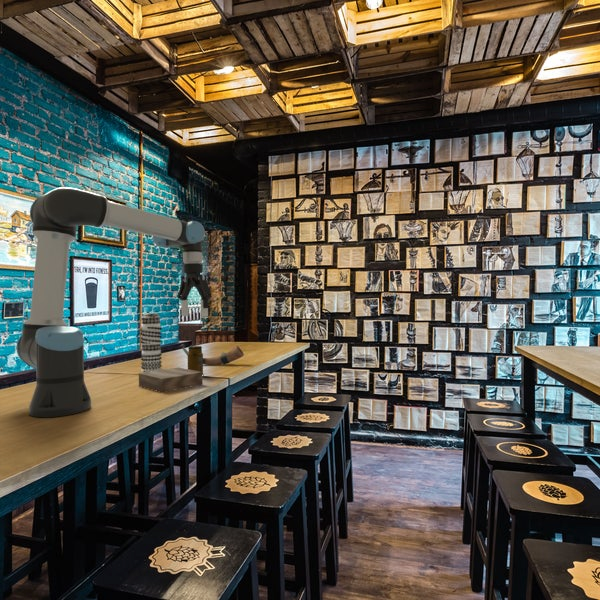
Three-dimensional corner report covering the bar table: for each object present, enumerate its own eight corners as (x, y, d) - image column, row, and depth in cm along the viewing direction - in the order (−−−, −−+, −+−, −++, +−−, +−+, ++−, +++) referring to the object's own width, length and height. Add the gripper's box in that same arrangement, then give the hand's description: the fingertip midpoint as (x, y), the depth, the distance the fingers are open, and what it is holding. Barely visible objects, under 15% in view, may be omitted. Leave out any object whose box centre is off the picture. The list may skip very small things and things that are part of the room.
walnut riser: (162, 393, 138) (161, 378, 138) (138, 387, 149) (138, 373, 149) (202, 385, 150) (202, 372, 150) (178, 380, 161) (178, 367, 161)
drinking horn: (243, 365, 191) (243, 344, 191) (178, 366, 191) (178, 344, 191) (244, 363, 197) (244, 342, 197) (182, 364, 197) (181, 343, 197)
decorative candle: (166, 368, 186) (165, 312, 186) (156, 372, 177) (155, 313, 177) (147, 368, 187) (146, 313, 187) (136, 371, 178) (135, 313, 178)
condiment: (199, 373, 172) (199, 344, 172) (209, 376, 166) (208, 346, 165) (183, 376, 167) (182, 346, 167) (192, 379, 161) (191, 348, 161)
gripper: (219, 261, 160) (221, 316, 160) (183, 265, 177) (185, 315, 177) (203, 260, 154) (205, 317, 155) (168, 265, 171) (169, 316, 172)
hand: (194, 316), depth 166 cm, fingers open, 13 cm apart
